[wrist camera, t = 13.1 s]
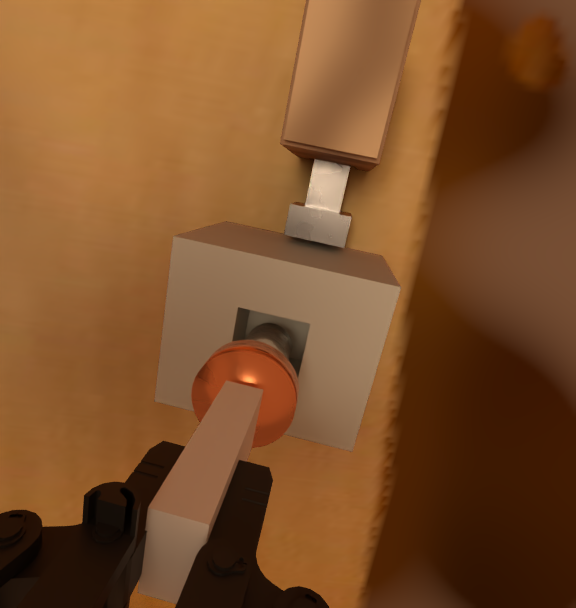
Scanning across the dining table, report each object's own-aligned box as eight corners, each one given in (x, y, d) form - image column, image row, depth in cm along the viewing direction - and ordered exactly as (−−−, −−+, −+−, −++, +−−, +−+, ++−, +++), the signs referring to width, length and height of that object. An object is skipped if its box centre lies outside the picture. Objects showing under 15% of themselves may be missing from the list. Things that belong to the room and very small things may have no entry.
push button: (225, 369, 23) (185, 433, 17) (238, 299, 22) (198, 341, 16) (299, 387, 23) (284, 459, 17) (315, 317, 22) (305, 367, 16)
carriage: (298, 157, 28) (278, 142, 20) (320, 45, 26) (309, -27, 17) (368, 171, 28) (380, 163, 19) (396, 59, 26) (423, -7, 17)
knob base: (208, 340, 33) (154, 401, 24) (226, 221, 30) (173, 236, 21) (349, 375, 33) (352, 451, 23) (382, 255, 30) (400, 287, 20)
